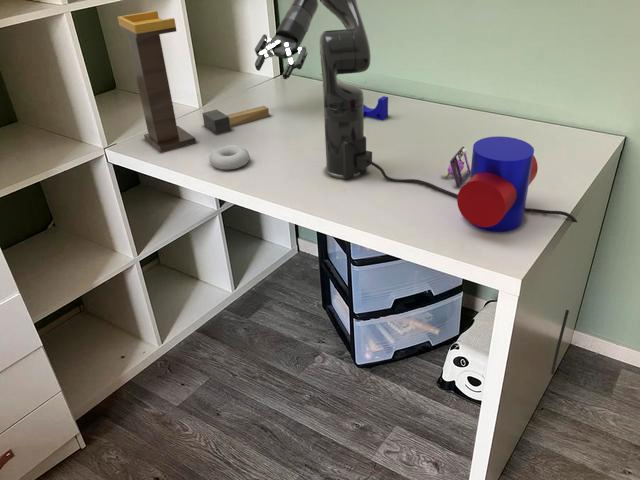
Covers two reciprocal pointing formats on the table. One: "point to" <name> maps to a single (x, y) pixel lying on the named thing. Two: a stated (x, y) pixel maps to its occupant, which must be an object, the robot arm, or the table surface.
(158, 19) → the mustard tray
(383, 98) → the blue curved block
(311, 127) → the table surface
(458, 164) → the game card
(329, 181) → the table surface
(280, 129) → the table surface
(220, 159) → the donut
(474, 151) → the blue red crossed cylinders
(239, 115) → the toy hammer
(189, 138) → the walnut stand
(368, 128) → the table surface
